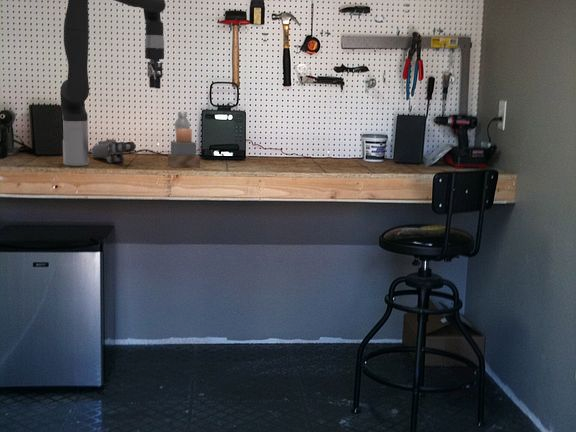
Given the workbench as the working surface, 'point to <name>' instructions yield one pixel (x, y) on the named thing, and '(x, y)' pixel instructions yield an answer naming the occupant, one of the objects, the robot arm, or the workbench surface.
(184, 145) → the grey square block
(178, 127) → the grey figurine
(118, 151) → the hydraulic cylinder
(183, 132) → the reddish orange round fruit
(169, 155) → the tower base
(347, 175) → the workbench surface
